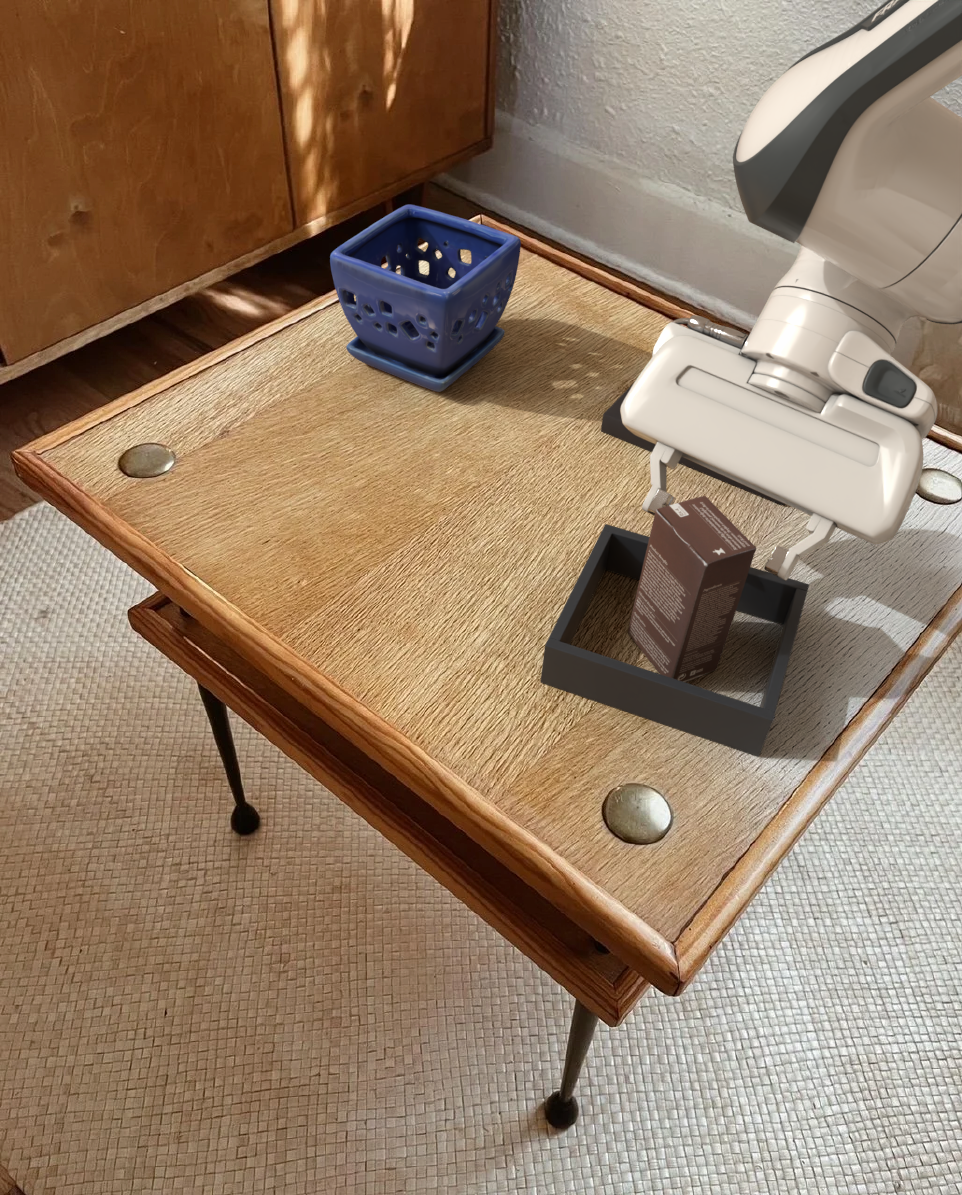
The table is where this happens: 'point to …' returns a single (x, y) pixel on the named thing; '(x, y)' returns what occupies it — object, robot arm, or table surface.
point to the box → (689, 588)
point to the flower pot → (425, 294)
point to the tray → (658, 692)
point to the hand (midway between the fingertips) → (712, 544)
